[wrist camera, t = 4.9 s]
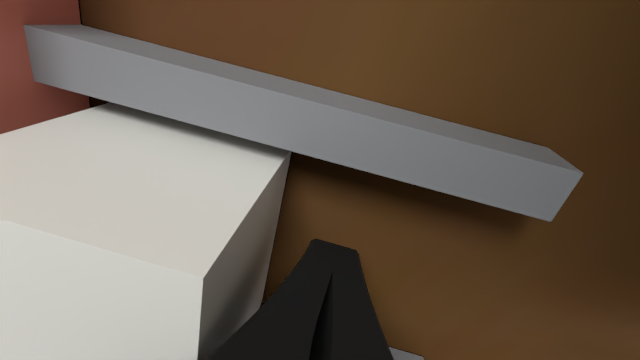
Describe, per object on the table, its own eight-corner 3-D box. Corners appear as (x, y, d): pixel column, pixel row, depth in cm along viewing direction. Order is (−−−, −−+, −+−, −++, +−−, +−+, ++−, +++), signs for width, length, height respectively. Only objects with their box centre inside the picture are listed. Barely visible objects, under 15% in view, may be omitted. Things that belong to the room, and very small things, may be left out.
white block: (262, 301, 11) (188, 479, 7) (61, 243, 12) (-132, 377, 7) (292, 147, 9) (202, 278, 4) (30, 76, 9) (-312, 127, 4)
